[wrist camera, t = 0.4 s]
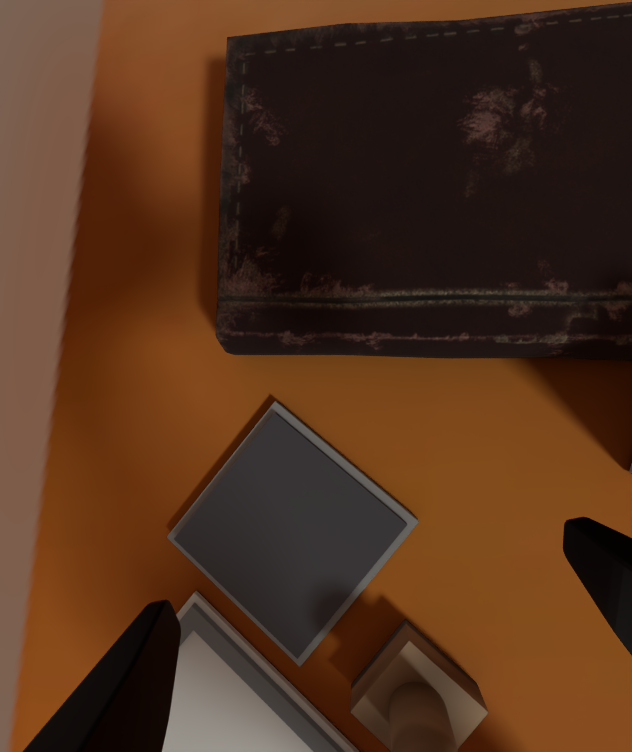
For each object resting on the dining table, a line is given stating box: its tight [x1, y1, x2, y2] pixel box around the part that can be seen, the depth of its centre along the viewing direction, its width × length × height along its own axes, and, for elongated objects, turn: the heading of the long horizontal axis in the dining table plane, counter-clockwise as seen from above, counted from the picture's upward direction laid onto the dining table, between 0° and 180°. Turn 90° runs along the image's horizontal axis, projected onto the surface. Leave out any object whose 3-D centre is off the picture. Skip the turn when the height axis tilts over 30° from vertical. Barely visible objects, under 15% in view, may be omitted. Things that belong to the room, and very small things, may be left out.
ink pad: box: [167, 401, 419, 667], centre depth 22 cm, size 11×11×1 cm
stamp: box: [350, 619, 489, 752], centre depth 17 cm, size 5×5×7 cm
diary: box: [216, 2, 632, 361], centre depth 21 cm, size 19×25×5 cm
